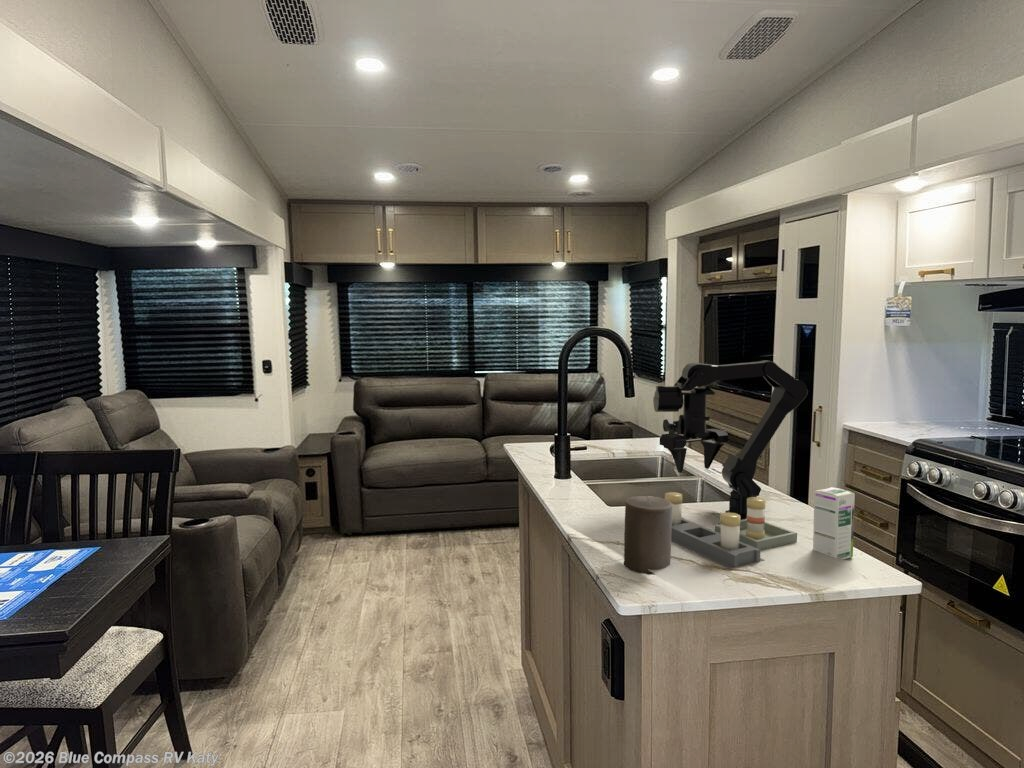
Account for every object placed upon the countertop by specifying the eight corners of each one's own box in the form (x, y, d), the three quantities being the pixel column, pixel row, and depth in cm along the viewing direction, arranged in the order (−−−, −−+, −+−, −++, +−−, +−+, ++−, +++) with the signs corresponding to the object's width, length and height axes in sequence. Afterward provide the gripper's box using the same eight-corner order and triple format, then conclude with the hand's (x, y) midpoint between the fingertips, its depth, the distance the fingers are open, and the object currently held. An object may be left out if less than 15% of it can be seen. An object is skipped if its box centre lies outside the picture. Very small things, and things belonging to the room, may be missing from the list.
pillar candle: (623, 572, 128) (625, 501, 126) (623, 555, 137) (625, 488, 136) (672, 576, 126) (675, 504, 124) (669, 558, 136) (671, 490, 134)
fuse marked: (754, 533, 148) (755, 496, 147) (768, 538, 144) (769, 500, 143) (742, 536, 146) (743, 498, 145) (755, 541, 142) (756, 502, 142)
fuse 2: (729, 551, 136) (730, 511, 135) (743, 557, 133) (744, 516, 132) (715, 554, 134) (716, 514, 134) (729, 561, 131) (730, 519, 130)
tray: (753, 529, 154) (753, 517, 153) (796, 545, 142) (797, 532, 142) (714, 537, 148) (714, 525, 148) (756, 555, 137) (756, 541, 136)
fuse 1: (673, 527, 152) (674, 491, 151) (685, 532, 149) (685, 495, 148) (660, 530, 151) (661, 493, 150) (671, 535, 147) (672, 497, 146)
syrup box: (836, 562, 132) (839, 495, 131) (811, 553, 137) (814, 489, 136) (853, 557, 135) (856, 492, 133) (828, 549, 140) (831, 485, 139)
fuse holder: (642, 532, 152) (643, 518, 152) (675, 526, 156) (675, 512, 156) (729, 573, 127) (729, 556, 127) (764, 564, 131) (765, 548, 131)
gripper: (699, 405, 174) (698, 460, 175) (646, 410, 165) (645, 468, 167) (730, 410, 164) (728, 469, 165) (674, 415, 155) (673, 477, 157)
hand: (693, 470), depth 164 cm, fingers open, 9 cm apart
